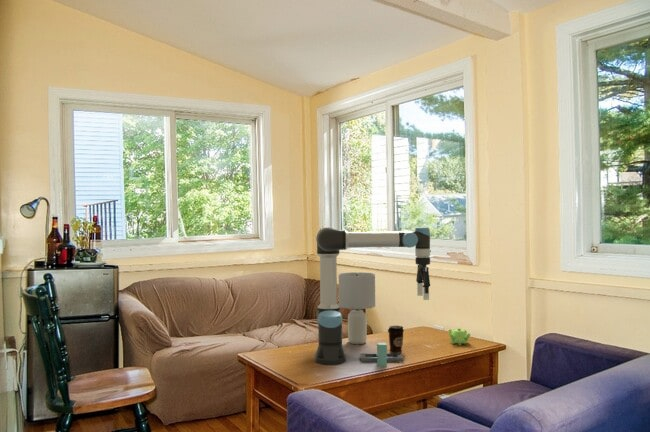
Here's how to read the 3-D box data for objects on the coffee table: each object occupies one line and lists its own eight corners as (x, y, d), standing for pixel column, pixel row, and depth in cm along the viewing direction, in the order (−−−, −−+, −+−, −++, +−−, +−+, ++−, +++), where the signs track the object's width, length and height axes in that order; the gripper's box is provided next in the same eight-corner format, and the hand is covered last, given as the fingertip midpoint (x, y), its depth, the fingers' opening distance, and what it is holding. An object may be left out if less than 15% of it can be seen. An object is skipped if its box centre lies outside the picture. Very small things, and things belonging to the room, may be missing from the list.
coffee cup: (407, 351, 269) (407, 326, 269) (398, 354, 263) (398, 329, 263) (393, 348, 275) (393, 324, 275) (384, 351, 269) (384, 326, 269)
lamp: (331, 342, 290) (331, 273, 290) (356, 336, 304) (356, 270, 304) (357, 349, 275) (357, 275, 275) (383, 342, 289) (382, 272, 289)
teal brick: (378, 366, 244) (378, 344, 244) (377, 363, 248) (377, 342, 248) (386, 366, 244) (386, 344, 244) (385, 363, 248) (385, 342, 248)
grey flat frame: (362, 362, 250) (361, 358, 250) (360, 357, 259) (359, 353, 259) (403, 361, 251) (403, 357, 251) (399, 356, 260) (399, 352, 260)
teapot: (469, 341, 290) (469, 326, 290) (470, 346, 279) (470, 331, 279) (448, 340, 292) (448, 325, 292) (449, 345, 281) (449, 330, 281)
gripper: (436, 258, 257) (436, 301, 257) (424, 254, 282) (424, 293, 282) (421, 258, 257) (421, 301, 257) (410, 255, 282) (410, 294, 282)
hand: (423, 297), depth 269 cm, fingers open, 13 cm apart
